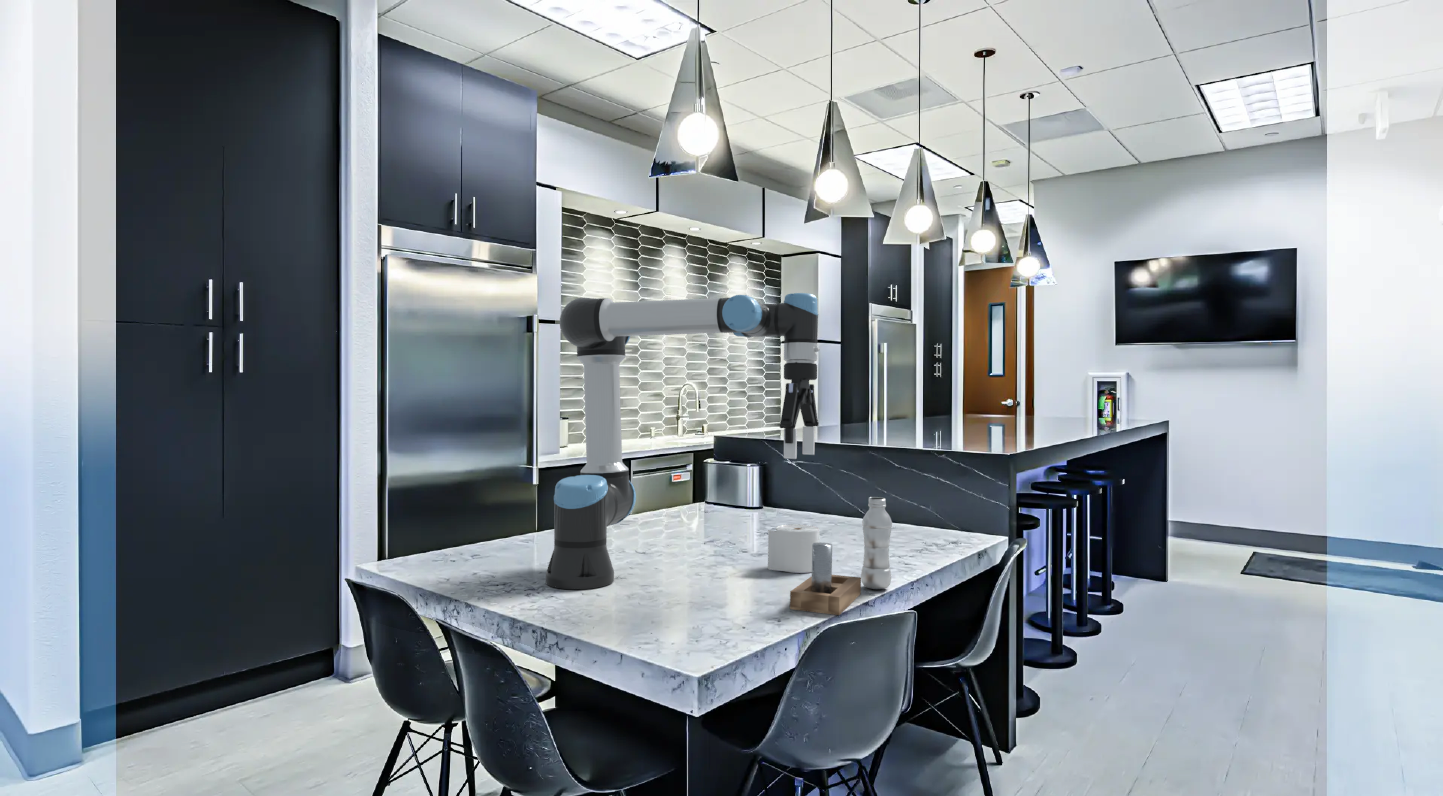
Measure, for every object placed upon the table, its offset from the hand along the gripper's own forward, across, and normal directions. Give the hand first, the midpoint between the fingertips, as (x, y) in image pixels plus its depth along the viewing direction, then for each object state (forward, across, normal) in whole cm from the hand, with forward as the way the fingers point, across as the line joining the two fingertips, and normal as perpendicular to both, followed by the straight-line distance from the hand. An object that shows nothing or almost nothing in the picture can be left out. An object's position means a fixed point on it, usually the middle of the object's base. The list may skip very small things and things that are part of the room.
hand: (799, 456), depth 176 cm
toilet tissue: (+29, +14, +5) cm, 33 cm away
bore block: (+29, -12, -10) cm, 33 cm away
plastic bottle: (+29, +3, -17) cm, 34 cm away
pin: (+28, -16, -10) cm, 34 cm away
